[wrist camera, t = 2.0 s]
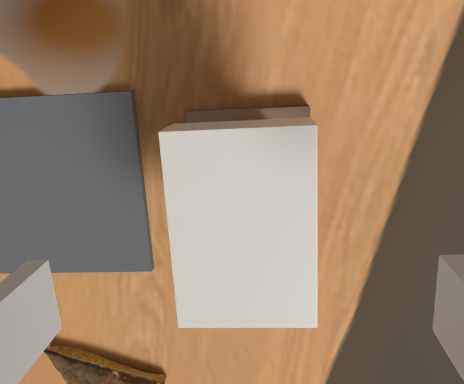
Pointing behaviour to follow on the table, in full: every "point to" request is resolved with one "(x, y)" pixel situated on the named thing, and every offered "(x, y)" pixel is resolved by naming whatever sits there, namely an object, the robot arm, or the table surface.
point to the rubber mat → (73, 184)
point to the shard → (96, 368)
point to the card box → (243, 222)
